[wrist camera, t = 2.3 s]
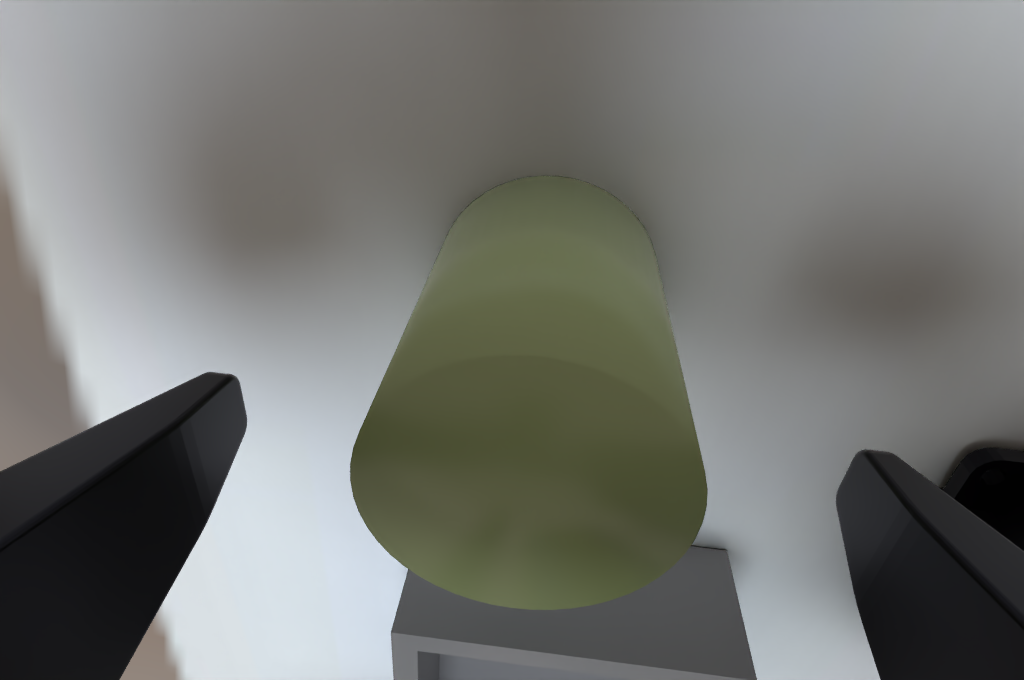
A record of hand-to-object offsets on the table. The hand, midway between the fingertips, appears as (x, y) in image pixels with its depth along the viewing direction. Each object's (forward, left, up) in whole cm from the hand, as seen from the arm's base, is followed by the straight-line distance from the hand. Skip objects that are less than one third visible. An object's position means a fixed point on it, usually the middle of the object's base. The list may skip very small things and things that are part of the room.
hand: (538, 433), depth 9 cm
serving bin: (-1, +11, -5) cm, 12 cm away
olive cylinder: (0, 0, -5) cm, 5 cm away
